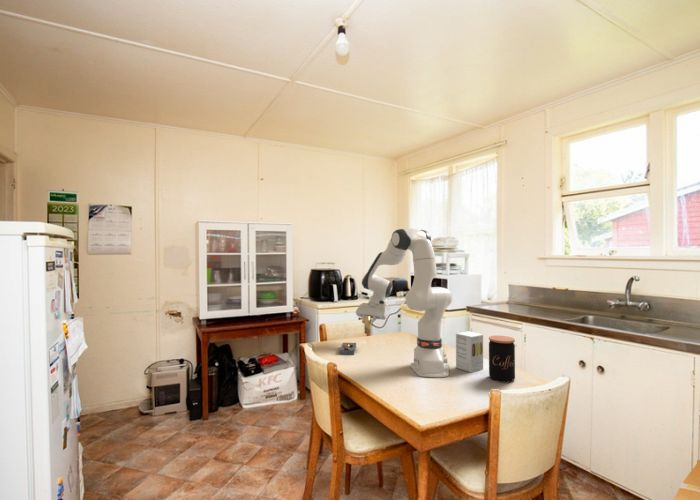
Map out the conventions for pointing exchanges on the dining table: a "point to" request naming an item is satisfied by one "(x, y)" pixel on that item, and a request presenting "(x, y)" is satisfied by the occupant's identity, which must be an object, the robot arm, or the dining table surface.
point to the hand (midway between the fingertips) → (366, 323)
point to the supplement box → (469, 351)
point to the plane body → (348, 349)
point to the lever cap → (367, 324)
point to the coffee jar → (502, 358)
